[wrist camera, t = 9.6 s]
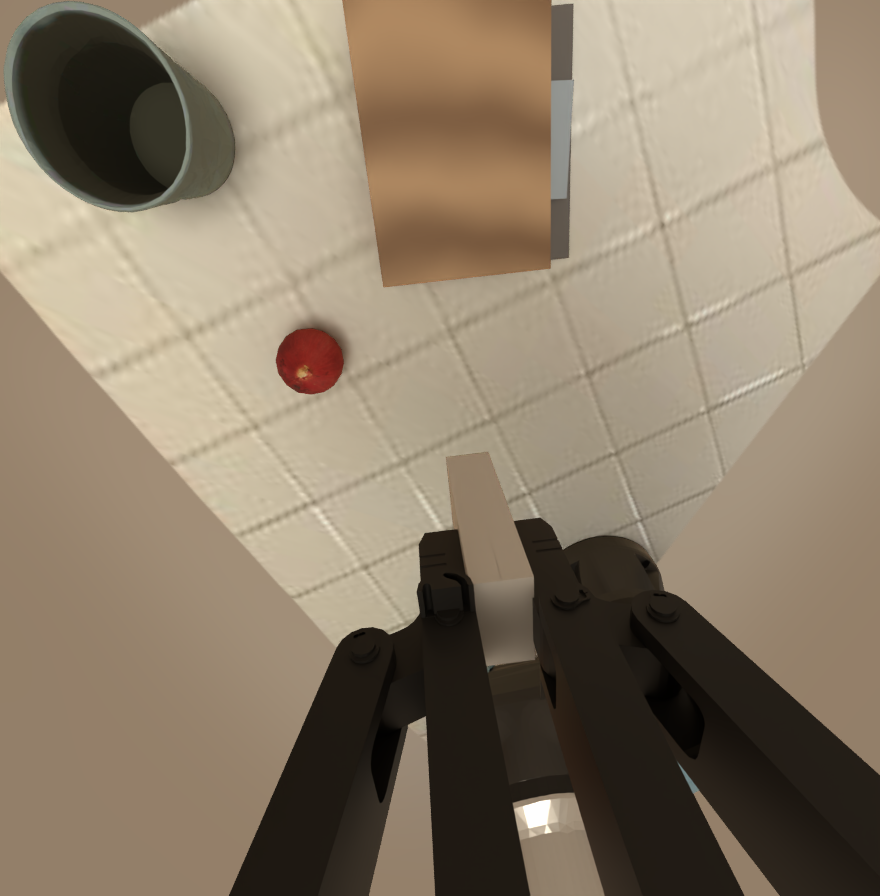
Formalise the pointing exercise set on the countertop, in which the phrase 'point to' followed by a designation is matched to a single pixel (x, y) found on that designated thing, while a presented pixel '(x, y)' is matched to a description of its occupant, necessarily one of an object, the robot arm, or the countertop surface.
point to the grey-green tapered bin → (112, 111)
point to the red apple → (309, 361)
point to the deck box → (560, 135)
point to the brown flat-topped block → (455, 134)
